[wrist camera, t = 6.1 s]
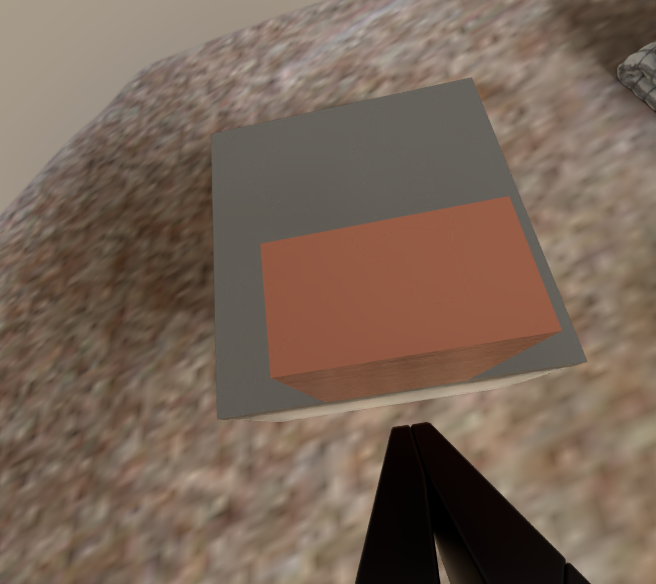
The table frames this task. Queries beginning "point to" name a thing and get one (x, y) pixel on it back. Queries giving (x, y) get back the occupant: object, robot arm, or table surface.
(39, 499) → the table surface
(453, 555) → the robot arm
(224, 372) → the lid
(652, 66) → the towel
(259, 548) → the table surface
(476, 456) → the table surface
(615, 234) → the table surface
